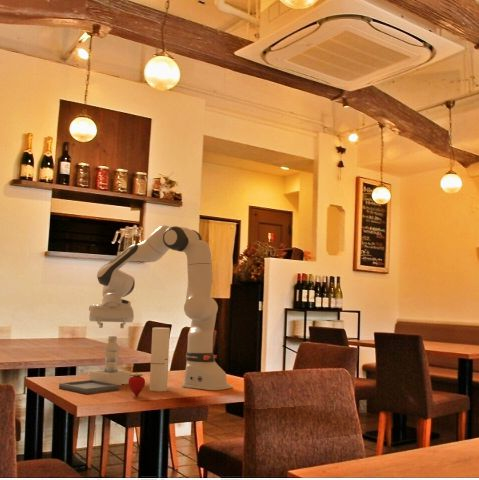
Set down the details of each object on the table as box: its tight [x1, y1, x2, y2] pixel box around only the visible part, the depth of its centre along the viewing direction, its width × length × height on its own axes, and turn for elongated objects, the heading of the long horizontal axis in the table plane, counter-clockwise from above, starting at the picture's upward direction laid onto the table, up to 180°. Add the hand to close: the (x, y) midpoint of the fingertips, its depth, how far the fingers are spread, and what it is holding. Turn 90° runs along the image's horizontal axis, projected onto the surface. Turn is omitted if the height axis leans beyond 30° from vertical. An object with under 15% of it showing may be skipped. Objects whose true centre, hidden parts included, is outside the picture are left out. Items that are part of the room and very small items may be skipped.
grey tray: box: [58, 379, 121, 395], centre depth 223 cm, size 18×16×2 cm
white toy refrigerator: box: [148, 327, 171, 392], centre depth 228 cm, size 7×7×25 cm
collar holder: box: [89, 369, 132, 386], centre depth 240 cm, size 12×12×5 cm
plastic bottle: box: [103, 335, 120, 374], centre depth 241 cm, size 6×7×20 cm
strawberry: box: [128, 370, 146, 397], centre depth 210 cm, size 6×8×10 cm
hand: (111, 327), depth 254 cm, fingers open, 8 cm apart
